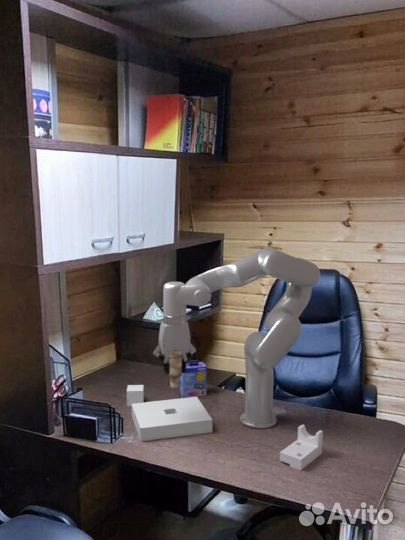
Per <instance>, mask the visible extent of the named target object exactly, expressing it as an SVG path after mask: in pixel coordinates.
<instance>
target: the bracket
mask: <svg viewBox="0 0 405 540" xmlns="http://www.w3.org/2000/svg"><path fill="white" fill-rule="evenodd" d="M323 433H324V431H323V430H321V429H319V430H318V431H317V432H315V435H311V434H310V433H309V432H308V431H307V429H306V425H305V424H301V425H299V426H298V427H297V439H296V440H295V441H293V442H292V443H291V444H289V445H288V446H286V447H285V448H284V449H282V450H281V451H280V452H279V461H280V462H283V463H285V464H288V465H289V467H291V468H293V469H296V470H299V471H302V470H303V469H305V468H306V467H307V466H308V465H310V464H311V463H312V462H313V461H314V460H316V459H317V458H318V457H319V456H321V455H322V453H323V438H324V437H323V436H324V434H323Z"/></svg>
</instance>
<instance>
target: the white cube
mask: <svg viewBox="0 0 405 540" xmlns="http://www.w3.org/2000/svg"><path fill="white" fill-rule="evenodd" d="M144 392H145V388H144V384H127V388H126V407H132V404H134V403H143V402H144V401H145V397H144V396H145V395H144Z"/></svg>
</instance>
